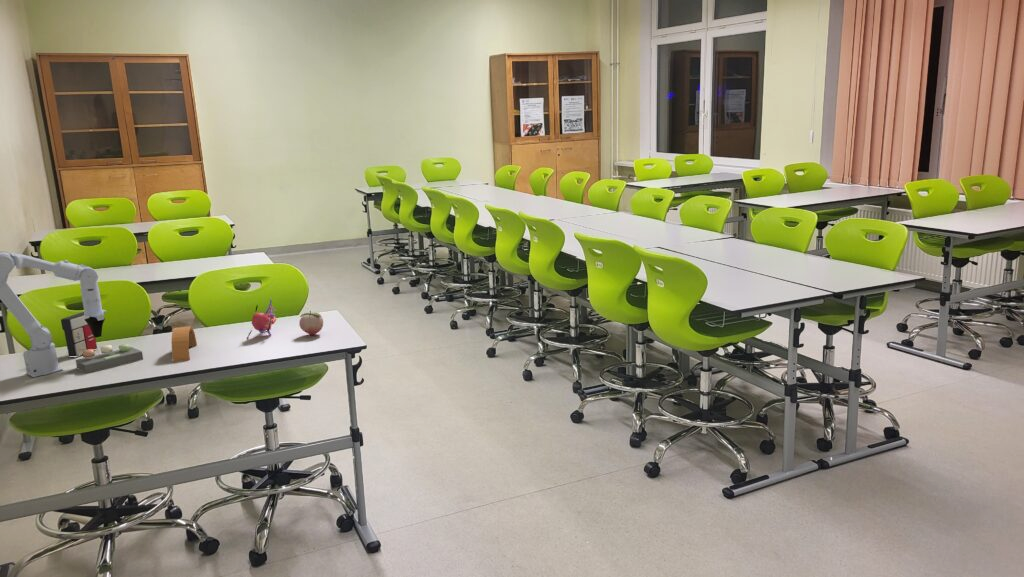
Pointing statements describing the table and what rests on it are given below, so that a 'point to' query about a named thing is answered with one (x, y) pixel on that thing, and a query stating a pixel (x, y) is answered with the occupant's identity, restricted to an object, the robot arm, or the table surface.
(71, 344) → the grey and red box
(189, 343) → the arch
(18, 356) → the table surface
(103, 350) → the cream button
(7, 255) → the robot arm
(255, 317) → the heart model
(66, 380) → the table surface
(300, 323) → the decorative fruit
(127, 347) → the sage button
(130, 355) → the button panel
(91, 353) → the terracotta button
